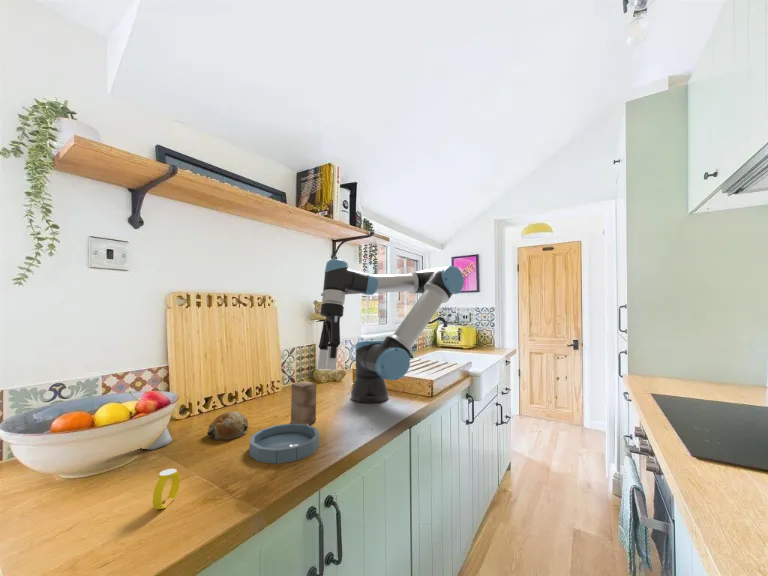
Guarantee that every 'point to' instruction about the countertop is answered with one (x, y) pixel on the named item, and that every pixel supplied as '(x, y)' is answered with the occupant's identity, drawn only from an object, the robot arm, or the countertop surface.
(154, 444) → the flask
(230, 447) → the countertop surface
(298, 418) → the box
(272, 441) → the dish
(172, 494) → the watch
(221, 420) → the bread roll
